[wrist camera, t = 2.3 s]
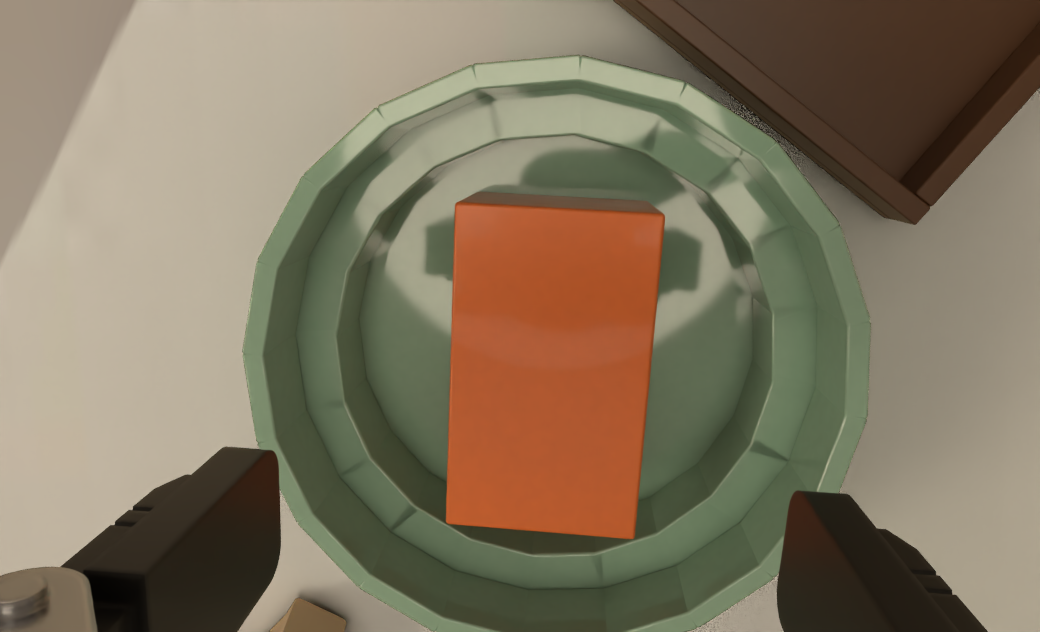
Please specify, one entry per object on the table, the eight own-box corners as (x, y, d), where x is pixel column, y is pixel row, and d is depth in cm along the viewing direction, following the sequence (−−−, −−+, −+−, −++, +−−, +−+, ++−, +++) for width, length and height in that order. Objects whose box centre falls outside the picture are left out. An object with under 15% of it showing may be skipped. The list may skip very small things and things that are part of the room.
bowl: (708, -11, 20) (751, -60, 15) (867, 468, 23) (946, 555, 18) (232, 196, 22) (138, 210, 18) (429, 609, 25) (395, 720, 20)
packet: (475, 191, 21) (453, 201, 18) (650, 200, 21) (667, 213, 17) (466, 461, 23) (444, 525, 19) (625, 474, 23) (635, 540, 19)
